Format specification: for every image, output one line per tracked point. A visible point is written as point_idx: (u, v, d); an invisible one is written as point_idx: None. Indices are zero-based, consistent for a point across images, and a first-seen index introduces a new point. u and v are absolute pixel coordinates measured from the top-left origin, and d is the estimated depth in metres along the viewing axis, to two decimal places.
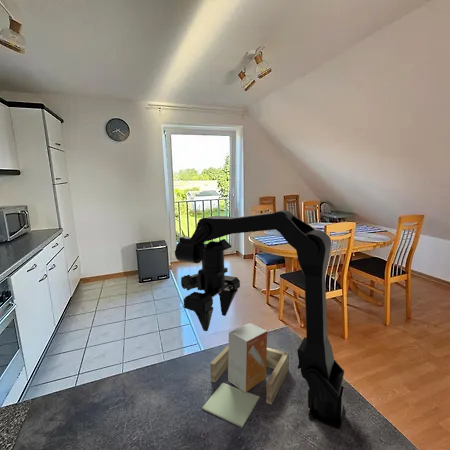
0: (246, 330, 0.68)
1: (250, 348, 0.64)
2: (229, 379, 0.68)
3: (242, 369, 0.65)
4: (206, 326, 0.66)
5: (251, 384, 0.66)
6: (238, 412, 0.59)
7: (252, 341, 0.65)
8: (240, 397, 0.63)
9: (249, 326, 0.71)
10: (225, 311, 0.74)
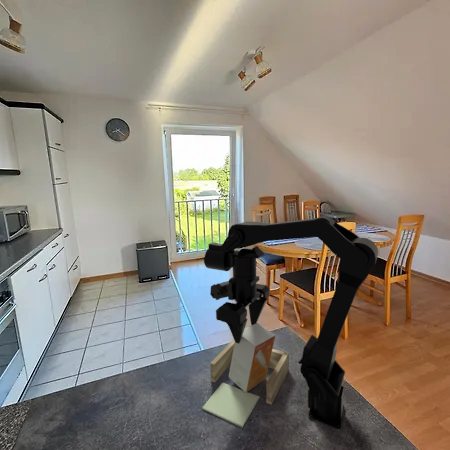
0: (254, 332, 0.66)
1: (257, 352, 0.63)
2: (230, 376, 0.68)
3: (246, 371, 0.64)
4: (239, 338, 0.63)
5: (252, 385, 0.65)
6: (238, 412, 0.59)
7: (260, 346, 0.63)
8: (240, 397, 0.63)
9: (257, 326, 0.69)
10: (255, 321, 0.71)
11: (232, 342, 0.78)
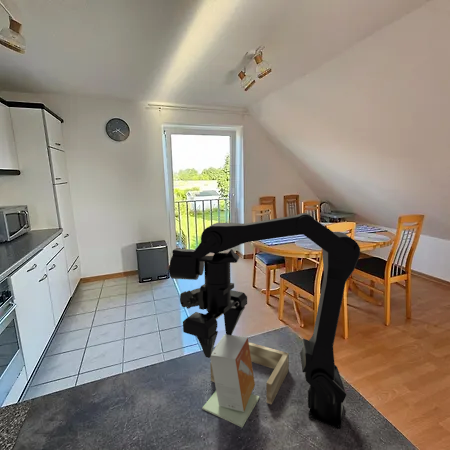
0: (227, 345, 0.61)
1: (239, 364, 0.57)
2: (220, 404, 0.60)
3: (235, 389, 0.58)
4: (209, 352, 0.56)
5: (246, 399, 0.60)
6: (238, 412, 0.59)
7: (239, 355, 0.58)
8: None
9: (227, 338, 0.64)
10: (230, 332, 0.65)
11: None
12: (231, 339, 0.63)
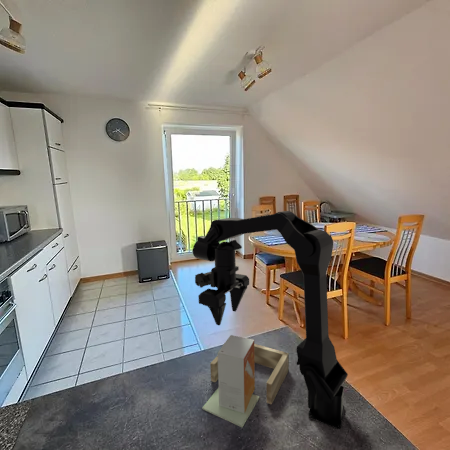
0: (234, 345, 0.62)
1: (245, 364, 0.58)
2: (221, 404, 0.60)
3: (239, 389, 0.58)
4: (219, 320, 0.71)
5: (247, 402, 0.60)
6: (238, 412, 0.59)
7: (247, 356, 0.59)
8: None
9: (233, 338, 0.65)
10: (235, 307, 0.79)
11: None
12: (238, 340, 0.64)
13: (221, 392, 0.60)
